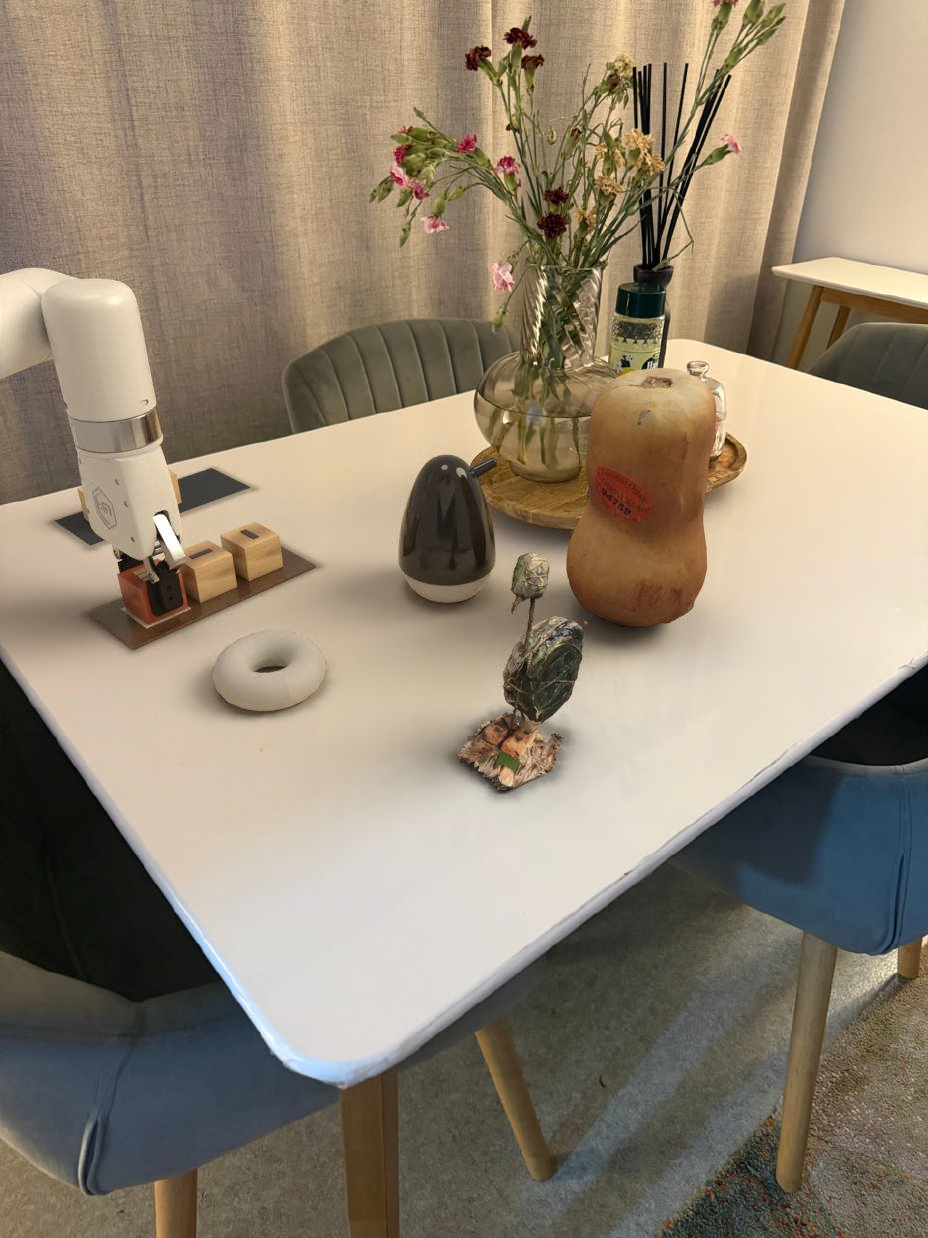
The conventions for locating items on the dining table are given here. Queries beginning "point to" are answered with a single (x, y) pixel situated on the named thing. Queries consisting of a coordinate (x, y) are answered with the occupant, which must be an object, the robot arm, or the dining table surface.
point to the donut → (271, 688)
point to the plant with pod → (529, 688)
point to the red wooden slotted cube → (142, 593)
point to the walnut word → (212, 582)
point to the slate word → (187, 493)
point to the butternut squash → (644, 499)
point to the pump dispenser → (447, 531)
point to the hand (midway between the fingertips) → (154, 599)
